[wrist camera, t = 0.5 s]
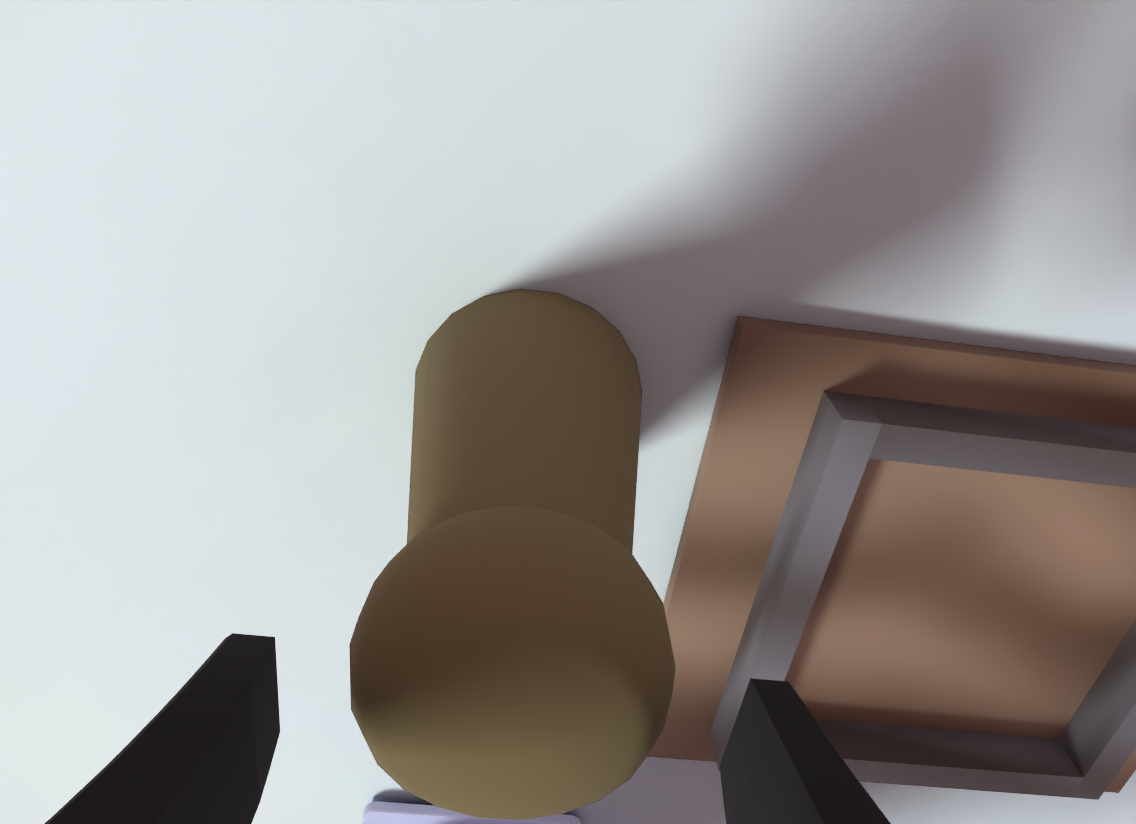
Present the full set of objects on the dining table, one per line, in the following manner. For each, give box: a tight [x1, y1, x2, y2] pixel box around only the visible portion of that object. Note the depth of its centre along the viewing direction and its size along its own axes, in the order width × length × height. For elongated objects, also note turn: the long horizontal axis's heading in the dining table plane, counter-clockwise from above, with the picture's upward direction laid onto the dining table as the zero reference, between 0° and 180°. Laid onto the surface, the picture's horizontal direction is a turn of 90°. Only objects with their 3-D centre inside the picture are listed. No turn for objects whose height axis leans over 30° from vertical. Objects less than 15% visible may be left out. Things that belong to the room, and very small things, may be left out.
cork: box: [350, 289, 676, 820], centre depth 16 cm, size 6×6×11 cm
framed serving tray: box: [647, 316, 1136, 799], centre depth 23 cm, size 16×18×2 cm
